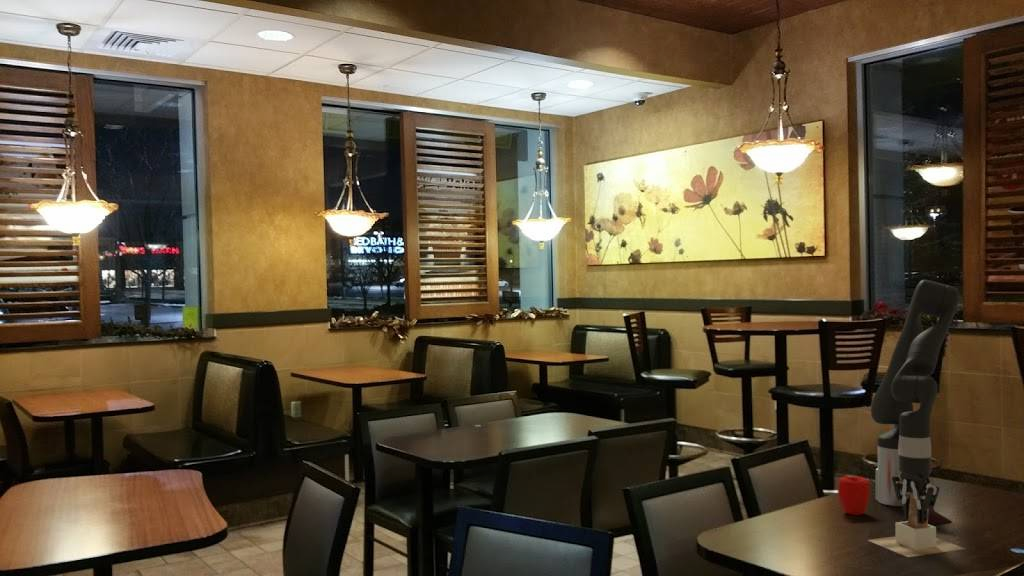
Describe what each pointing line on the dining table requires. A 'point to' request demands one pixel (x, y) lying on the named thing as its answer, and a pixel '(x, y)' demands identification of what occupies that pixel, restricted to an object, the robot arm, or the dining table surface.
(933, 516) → the icecream
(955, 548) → the wooden board
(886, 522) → the dining table surface
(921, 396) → the robot arm
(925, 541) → the white square box
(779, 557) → the dining table surface
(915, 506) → the square wooden post
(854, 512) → the apple
